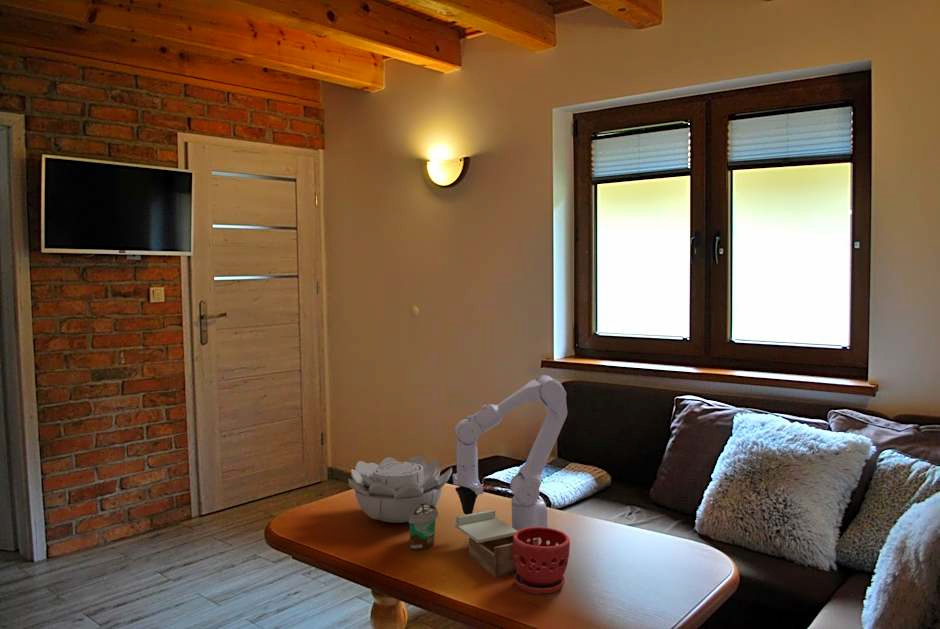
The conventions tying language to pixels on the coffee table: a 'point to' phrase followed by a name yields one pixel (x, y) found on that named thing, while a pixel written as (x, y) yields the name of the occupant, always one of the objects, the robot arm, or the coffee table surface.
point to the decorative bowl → (397, 487)
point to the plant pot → (540, 559)
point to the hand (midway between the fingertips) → (468, 513)
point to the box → (495, 555)
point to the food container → (423, 526)
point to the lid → (483, 526)
